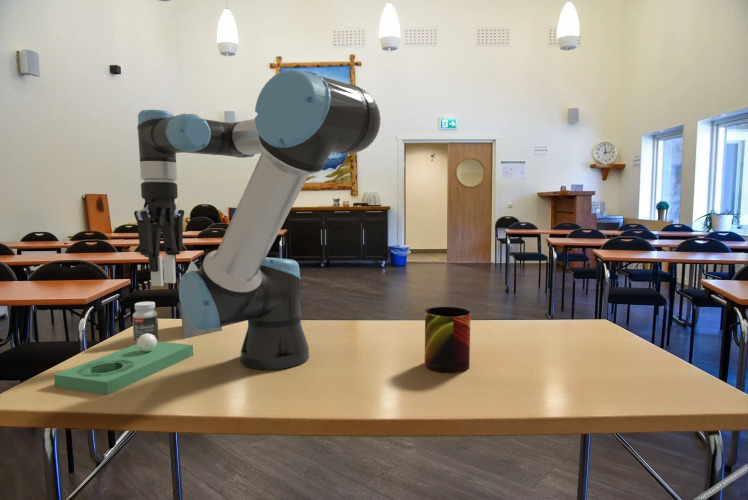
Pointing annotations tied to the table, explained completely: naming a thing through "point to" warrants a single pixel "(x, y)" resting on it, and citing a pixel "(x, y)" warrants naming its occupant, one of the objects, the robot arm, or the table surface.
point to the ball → (146, 342)
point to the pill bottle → (145, 320)
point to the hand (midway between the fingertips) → (163, 283)
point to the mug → (447, 339)
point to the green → (121, 368)
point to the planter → (187, 327)
